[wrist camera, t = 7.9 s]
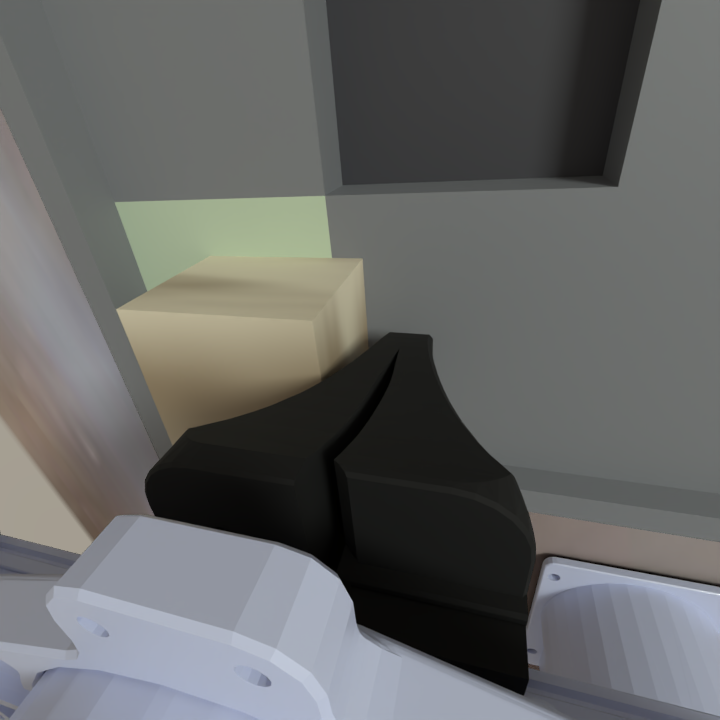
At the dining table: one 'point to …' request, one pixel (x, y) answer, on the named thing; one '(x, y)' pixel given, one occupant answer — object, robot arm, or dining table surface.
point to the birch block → (245, 334)
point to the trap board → (421, 202)
